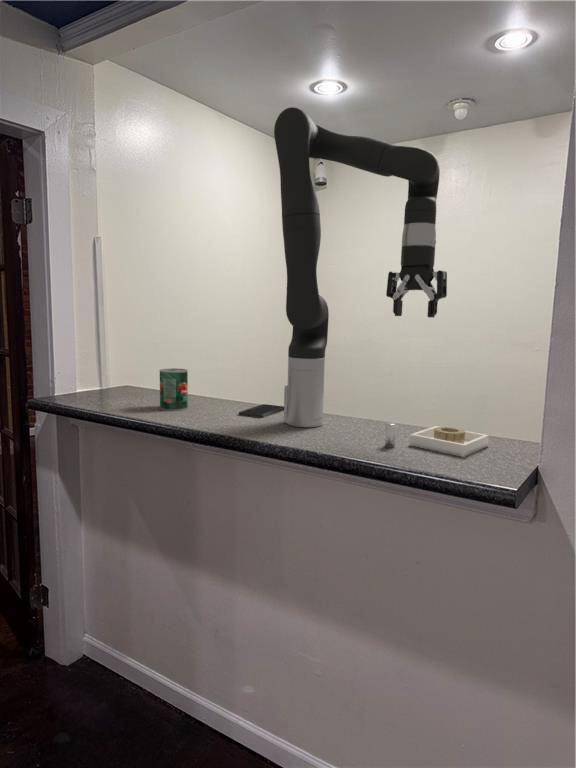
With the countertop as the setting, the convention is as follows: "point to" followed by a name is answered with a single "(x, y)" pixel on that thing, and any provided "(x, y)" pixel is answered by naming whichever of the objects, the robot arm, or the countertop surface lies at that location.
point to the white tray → (428, 441)
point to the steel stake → (390, 435)
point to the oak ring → (450, 434)
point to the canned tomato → (173, 389)
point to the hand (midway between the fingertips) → (414, 316)
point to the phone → (262, 411)
